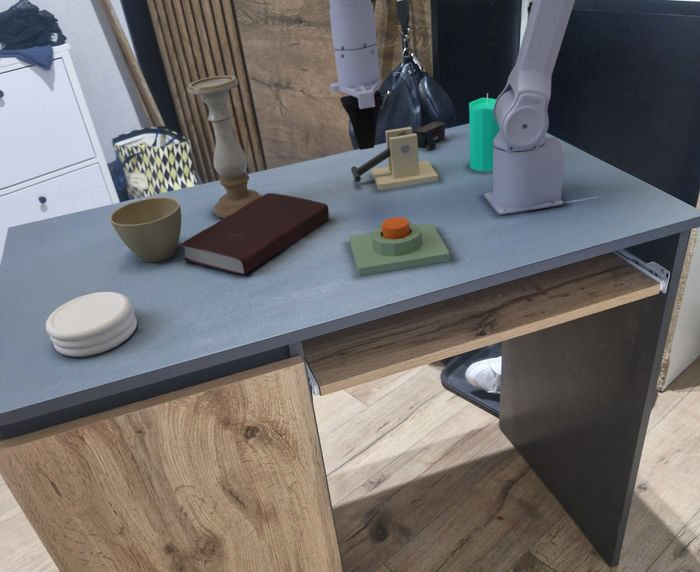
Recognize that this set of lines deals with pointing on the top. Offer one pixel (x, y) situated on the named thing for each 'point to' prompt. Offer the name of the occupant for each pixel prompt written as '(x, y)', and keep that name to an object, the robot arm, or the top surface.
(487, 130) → the candle
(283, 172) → the top surface
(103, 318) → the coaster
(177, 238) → the flower pot
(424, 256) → the panel
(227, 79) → the candle holder
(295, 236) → the book
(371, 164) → the lever
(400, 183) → the stand
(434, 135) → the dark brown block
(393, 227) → the button
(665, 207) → the top surface
